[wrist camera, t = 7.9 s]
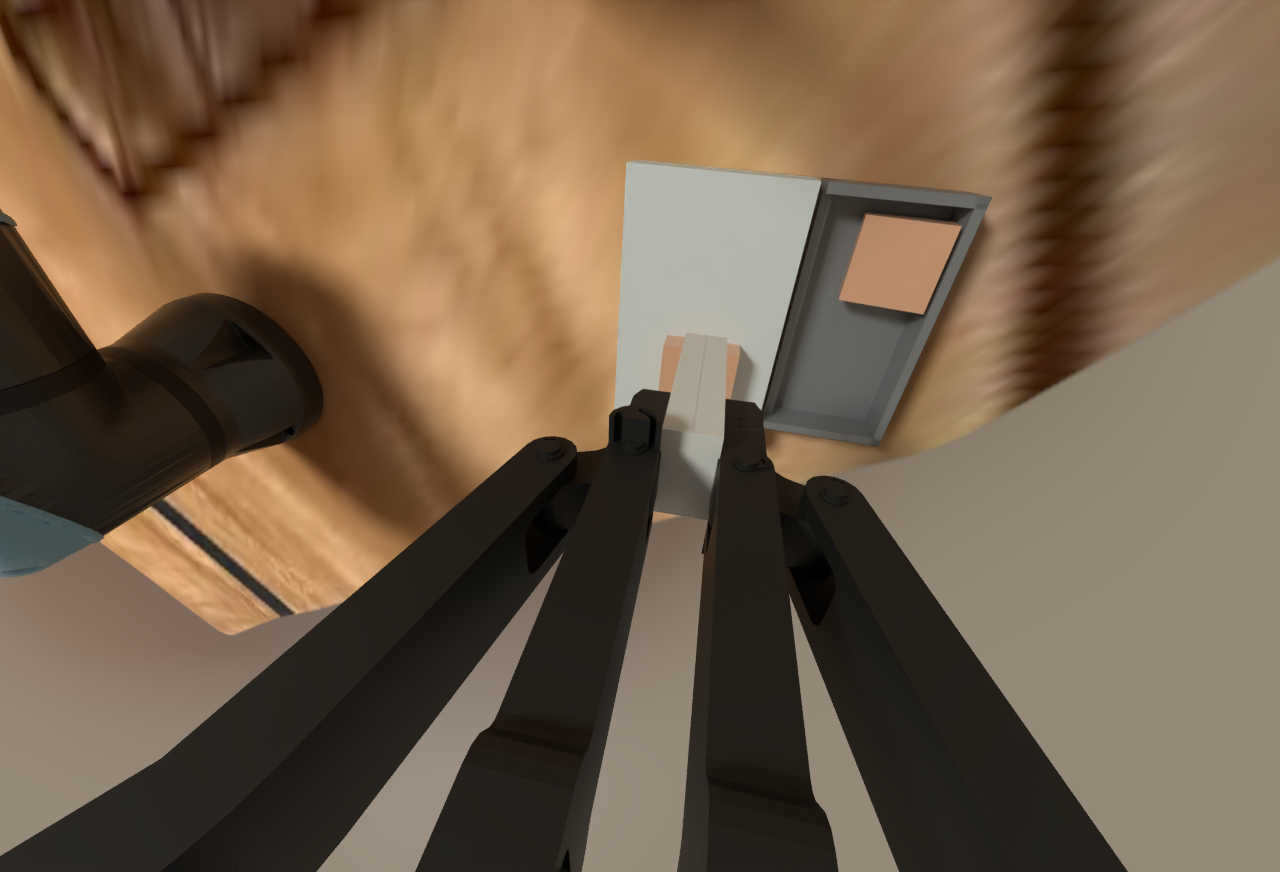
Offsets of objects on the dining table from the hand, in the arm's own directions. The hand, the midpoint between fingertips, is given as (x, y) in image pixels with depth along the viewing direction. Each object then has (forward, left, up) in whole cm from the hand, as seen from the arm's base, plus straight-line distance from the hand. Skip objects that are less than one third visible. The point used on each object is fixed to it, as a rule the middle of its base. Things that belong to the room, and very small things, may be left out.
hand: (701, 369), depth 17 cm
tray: (+9, -3, -18) cm, 20 cm away
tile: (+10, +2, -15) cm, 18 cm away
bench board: (-1, -3, -18) cm, 18 cm away
